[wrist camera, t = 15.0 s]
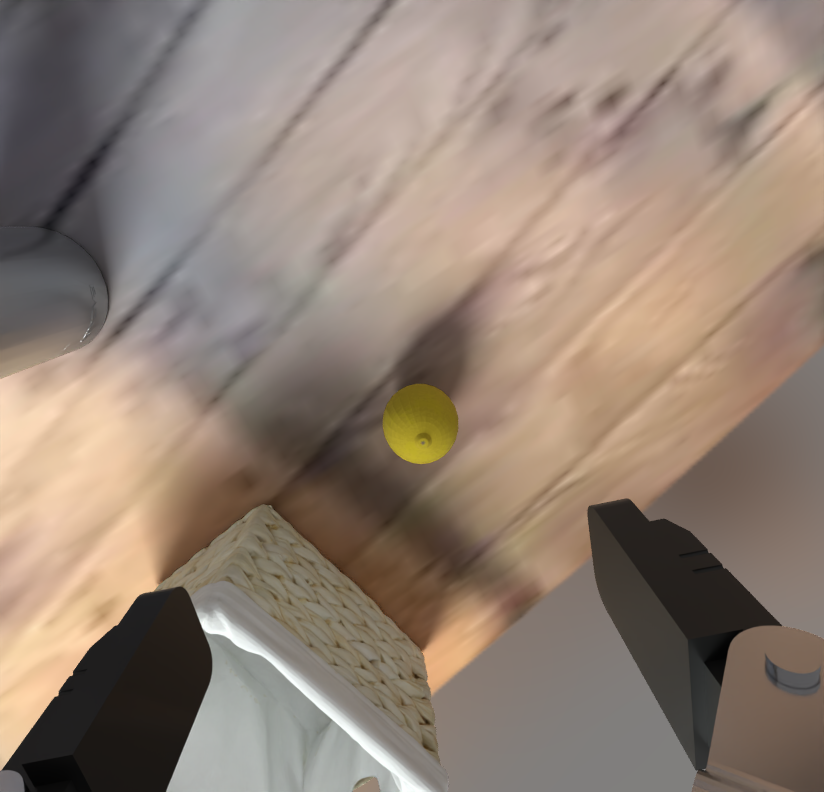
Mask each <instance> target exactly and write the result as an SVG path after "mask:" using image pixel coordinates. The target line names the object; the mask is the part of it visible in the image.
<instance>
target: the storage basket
mask: <svg viewBox="0 0 824 792" xmlns="http://www.w3.org/2000/svg"><path fill="white" fill-rule="evenodd" d="M179 586H180V587H183V588H185V589H186V590H187V592H188V593H189V596H190V598H191V600H192V603H193V605H194V608H195V611H196V613H197V616H198V618H199V621H200V623H201V626H202V628H203V631H204V633H205V636H206V638H207V641H208V643H209V646H210V649H211V653H212V662H213V666H212V676H211V681H210V684H209V686H208V689H207V691H206V694H205V696H204V699H203V701H202V704H201V706H200V709H199V711H198V714H197V716H196V719H195V721H194V724H193V726H192V728H191V731H190V733H189V736H188V738H187V741H186V743H185V746H184V748H183V751H182V753H181V756H180V758H179V761H178V763H177V766H176V768H175V771H174V773H173V776H172V778H171V780H170V783H169V785H168V788H167V790H166V792H353V790H354V789H356V788H358V787H360V786H362V785H363V784H365V783H367V782H368V781H369V780H371V779H372V778H373V777H376V778H377V779H378V783H379V787H380V792H448V786H449V785H448V778H449V777H448V773H447V771H446V769H445V768H444V767H442V766H441V764H440V759H439V756H438V743H437V740H436V727H434V723H435V714H434V710H433V708H432V705H431V702H430V700H431V692H430V688H429V686H428V683H427V682H426V681H427V678H428V676H427V671H426V666H425V662H424V655H423V653H422V652H421V650H420V648H419V647H418V646H416V645H415V644H414V643H413V642H412V641H411V640H410V639H409V637H408V636H407V635H406V634H405V633H403V632H402V631H401V630H400V629H399V628H398V627H397V626H396V624H395V623H394V622H393V621H392V620H391V619H390V618H389V617H387V616H386V615H384V614H383V613H382V611H381V610H380V608H379V607H378V605H377V604H376V603H375V602H374V601H373V600H372V599H371V598H370V597H368V596H367V595H365V594H364V593H363V592H362V590H361V589H360V588H359V587H358V586H357V585H356V584H355V583H354V582H353V581H352V580H350V579H349V578H348V577H347V576H345V575H344V574H342V573H341V572H340V571H339V570H338V569H337V568H336V567H335V566H334V565H333V564H332V563H331V562H330V561H329V560H327V559H326V558H324V557H323V556H322V555H321V554H320V552H319V551H318V550H317V549H316V548H315V547H314V546H313V545H312V544H311V543H310V542H308V541H307V540H306V539H304V538H303V537H302V536H301V535H300V534H299V533H298V532H297V531H296V530H295V529H294V528H293V527H292V525H291V524H290V523H288V522H287V521H285V520H284V519H283V518H282V517H281V516H280V515H279V514H278V513H277V512H276V511H275V510H274V509H273V508H272V506H271V505H269V506H268V505H265V504H263V505H260V506H259V507H256V508H254V509H252V510H251V511H250V512H248V513H247V514H246V515H245V516H244V517H243V518H242V519H241V520H238V521H237V522H235V523H234V524H233V525H232V526H231V527H230V528H229V529H228V530H227V531H226V532H224V533H222V534H220V535H219V536H218V537H217V538H216V539H214V540H213V541H212V542H211V544H210V545H209V546H208V547H207V548H203V549H202V550H200V551H199V552H198V553H196V554H195V555H194V556H193V557H192V558H191V559H190V560H189V561H188V563H187V564H185V565H183V566H182V567H180V568H179V569H177V570H176V571H175V572H174V573H173V574H172V575H171V577H169V578H167V579H166V580H164V581H163V582H162V583H161V584H160V585H159V586H158V587H157V588H156V589H155V591H158V590H163V589H169V588H174V587H179Z"/></svg>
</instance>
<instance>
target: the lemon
mask: <svg viewBox="0 0 824 792" xmlns="http://www.w3.org/2000/svg"><path fill="white" fill-rule="evenodd" d="M383 430H384V435H385V438H386V440H387V442H388V444H389V446H390V447H391V449H392V450H393V451H394V452H395V453H396V454H397V455H398V456H399V457H401V458H402V459H404V460H406V461H409V462H412V463H417V464H425V463H431V462H434V461H436V460H438V459H440V458H441V457H443V456H444V455H445V454H446V453H447V452H448V451H449V450H450V449H451V447H452V445H453V444H454V442H455V440H456V436H457V432H458V415H457V412H456V409H455V406H454V405H453V403H452V401H451V400H450V398H449V397H448V396H447V395H446V394H445V393H444V392H443V391H441V390H440V389H438V388H436V387H434V386H431V385H427V384H413V385H409V386H406V387H404V388H402V389H401V390H399V391H398V392H397V393H395V394H394V395H393V396H392V398H391V399H390V401H389V402H388V403H387V405H386V408H385V411H384V414H383Z"/></svg>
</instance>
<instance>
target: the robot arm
mask: <svg viewBox="0 0 824 792" xmlns="http://www.w3.org/2000/svg"><path fill="white" fill-rule="evenodd" d="M107 312H108V295H107V288H106V284H105V282H104V279H103V276H102V274H101V272H100V270H99V268H98V267H97V265H96V263H95V262H94V260H93V259H92V258H91V257H90V256H89V254H88V253H87V252H86V251H85V250H84V249H83V248H82V247H81V246H79V245H78V244H77V243H75V242H74V241H73V240H72V239H70V238H68V237H66V236H64V235H62V234H60V233H58V232H55V231H52V230H49V229H46V228H38V227H0V379H2V378H4V377H7V376H9V375H12V374H15V373H17V372H20V371H22V370H25V369H28V368H30V367H33V366H35V365H38V364H41V363H44V362H46V361H49V360H51V359H54V358H56V357H59V356H62V355H64V354H67V353H70V352H72V351H75V350H77V349H80V348H81V347H83V346H85V345H86V344H88V343H90V342H91V341H92V340H93V339H94V338H95V337H96V336H97V335H98V333H99V331H100V330H101V328H102V326H103V325H104V322H105V319H106V315H107ZM588 524H589V532H590V540H591V549H592V557H593V565H594V573H595V579H596V583H597V587H598V590H599V594H600V596H601V599H602V601H603V604H604V606H605V608H606V610H607V612H608V614H609V615H610V617H611V619H612V621H613V623H614V624H615V626H616V628H617V630H618V631H619V633H620V635H621V637H622V639H623V640H624V642H625V644H626V646H627V648H628V649H629V651H630V653H631V655H632V657H633V658H634V660H635V662H636V663H637V665H638V667H639V669H640V671H641V673H642V675H643V676H644V678H645V680H646V682H647V684H648V685H649V687H650V689H651V691H652V692H653V694H654V696H655V698H656V700H657V701H658V703H659V705H660V707H661V709H662V710H663V712H664V714H665V716H666V718H667V719H668V721H669V723H670V725H671V727H672V728H673V730H674V732H675V734H676V736H677V737H678V739H679V741H680V743H681V745H682V746H683V748H684V750H685V752H686V753H687V755H688V757H689V759H690V761H691V762H692V764H693V766H694V768H695V770H698V772H697V774H696V777H695V780H694V784H693V788H692V792H824V639H823V638H821V637H818V636H816V635H814V634H811V633H809V632H805V631H802V630H799V629H795V628H790V627H784V626H782V625H781V624H780V623H779V622H778V621H777V620H776V619H775V618H774V617H773V616H772V615H771V614H770V613H769V612H768V611H767V610H766V609H765V608H764V607H763V606H762V605H761V604H760V603H759V602H758V601H757V600H756V598H754V596H753V595H752V594H750V592H749V591H748V590H747V589H746V588H745V587H744V586H743V585H742V584H741V583H740V582H739V581H738V580H737V579H736V578H735V577H734V576H733V575H732V574H731V573H730V572H729V571H728V570H727V569H726V568H725V569H724V568H723V566H722V564H721V563H720V562H719V561H718V560H717V559H716V558H715V557H714V556H713V555H712V554H711V553H708V550H707V548H706V547H705V546H704V545H703V544H702V543H701V542H700V541H699V540H698V539H697V538H696V537H695V536H694V535H693V534H692V533H691V532H690V531H688V530H686V529H684V528H682V527H680V526H678V525H676V524H674V523H672V522H670V521H668V520H666V519H660V520H655V521H650V522H649V520H648V519H647V518H646V517H645V516H644V515H643V514H642V512H641V511H640V510H639V509H638V508H637V507H636V506H635V504H634V503H633V502H632V501H631V500H630V499H627V498H626V499H621V500H616V501H611V502H606V503H601V504H596V505H591V506H589V507H588ZM212 666H213V662H212V653H211V649H210V646H209V643H208V641H207V638H206V636H205V633H204V631H203V628H202V626H201V623H200V621H199V618H198V616H197V613H196V611H195V608H194V605H193V603H192V600H191V598H190V596H189V593H188V592H187V590H186V589H185V588H183V587H180V586H179V587H174V588H169V589H163V590H158V591H153V592H148V593H143V594H141V595H139V596H138V597H137V599H136V600H135V601H134V603H133V604H132V606H131V607H130V608H129V610H128V611H127V613H126V614H125V616H124V617H123V619H122V620H121V621H120V623H119V624H118V625H117V626H114V627H113V628H112V629H111V630H110V631H109V632H107V633H106V634H105V635H104V636H103V637H102V638H101V639H100V640H98V641H97V642H96V643H95V644H94V645H93V646H92V647H91V648H90V649H89V650H88V651H87V653H86V654H85V656H84V657H83V658H82V660H81V661H80V663H79V664H78V665H77V667H76V668H75V669H74V671H73V676H69V678H68V679H67V681H66V682H65V683H64V685H63V686H62V687H61V689H60V690H59V695H58V696H57V697H54V699H53V700H52V701H51V703H50V704H49V705H48V707H47V708H46V710H45V711H44V712H43V714H42V715H41V717H40V718H39V719H38V721H37V722H36V723H35V725H34V726H33V728H32V729H31V730H30V732H29V733H28V735H27V736H26V737H25V739H24V740H23V741H22V743H21V744H20V746H19V747H18V748H17V750H16V751H15V753H14V754H13V755H12V757H11V758H10V759H9V761H8V762H7V764H6V765H5V766H4V768H3V769H2V770H1V771H0V792H166V790H167V788H168V785H169V783H170V780H171V778H172V776H173V773H174V771H175V768H176V766H177V763H178V761H179V758H180V756H181V753H182V751H183V748H184V746H185V743H186V741H187V738H188V736H189V733H190V731H191V728H192V726H193V724H194V721H195V719H196V716H197V714H198V711H199V709H200V706H201V704H202V701H203V699H204V696H205V694H206V691H207V689H208V686H209V684H210V681H211V676H212ZM702 769H706V770H705V771H704V770H702Z"/></svg>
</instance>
